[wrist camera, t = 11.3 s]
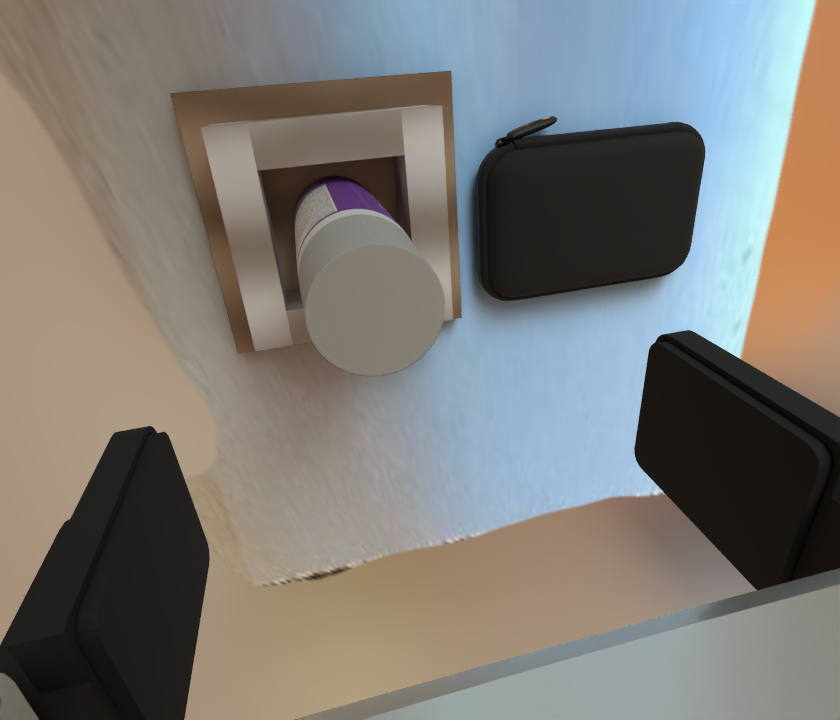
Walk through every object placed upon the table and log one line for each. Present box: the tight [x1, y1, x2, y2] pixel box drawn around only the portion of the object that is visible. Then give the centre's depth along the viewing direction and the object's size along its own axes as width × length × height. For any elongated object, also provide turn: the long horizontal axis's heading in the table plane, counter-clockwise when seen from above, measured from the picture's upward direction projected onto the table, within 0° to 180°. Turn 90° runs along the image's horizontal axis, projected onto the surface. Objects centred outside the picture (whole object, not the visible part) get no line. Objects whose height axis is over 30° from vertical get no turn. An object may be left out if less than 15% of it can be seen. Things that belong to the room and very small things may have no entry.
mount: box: [170, 71, 462, 353], centre depth 29 cm, size 14×14×5 cm
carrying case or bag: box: [476, 116, 705, 301], centre depth 33 cm, size 11×3×15 cm
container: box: [294, 175, 445, 376], centre depth 23 cm, size 5×5×15 cm
